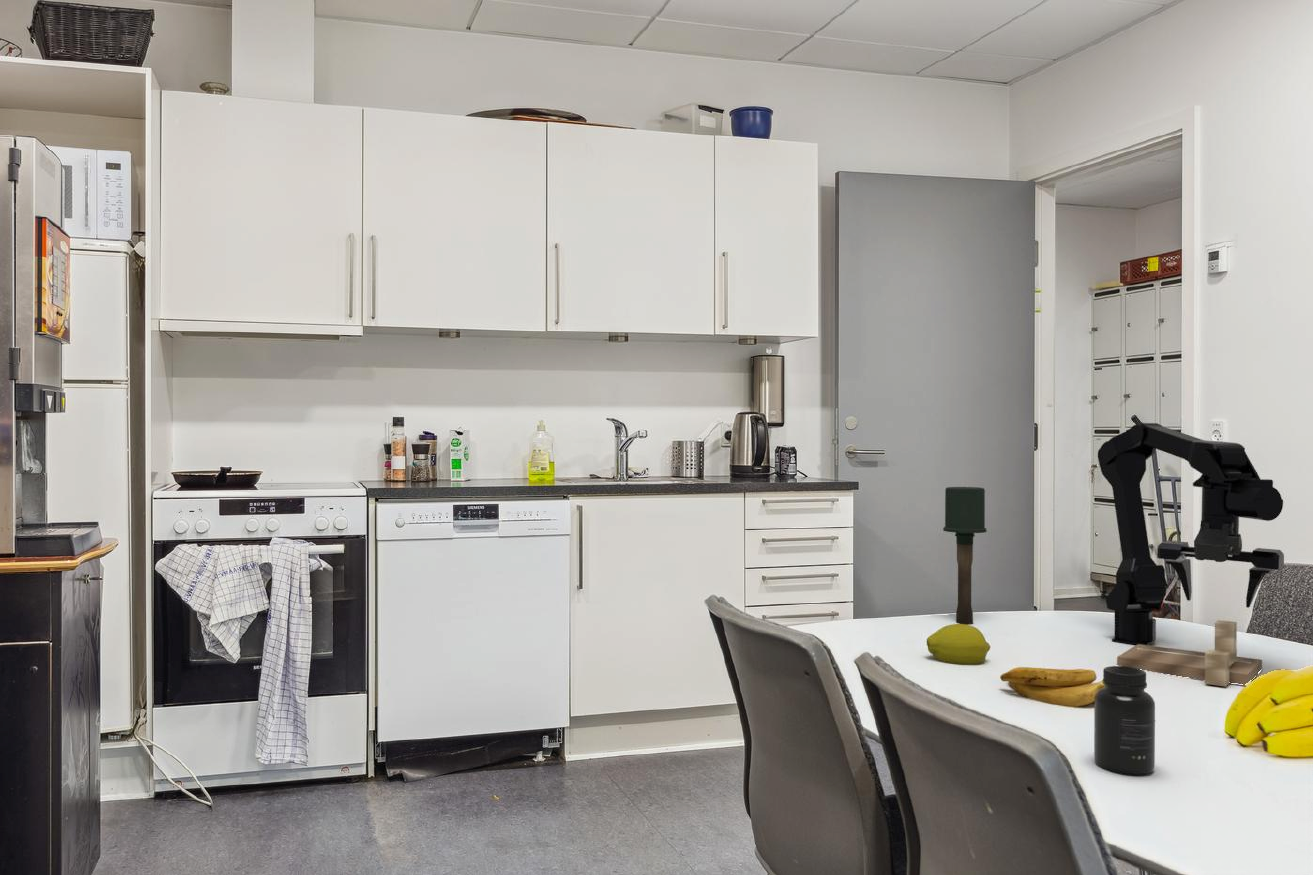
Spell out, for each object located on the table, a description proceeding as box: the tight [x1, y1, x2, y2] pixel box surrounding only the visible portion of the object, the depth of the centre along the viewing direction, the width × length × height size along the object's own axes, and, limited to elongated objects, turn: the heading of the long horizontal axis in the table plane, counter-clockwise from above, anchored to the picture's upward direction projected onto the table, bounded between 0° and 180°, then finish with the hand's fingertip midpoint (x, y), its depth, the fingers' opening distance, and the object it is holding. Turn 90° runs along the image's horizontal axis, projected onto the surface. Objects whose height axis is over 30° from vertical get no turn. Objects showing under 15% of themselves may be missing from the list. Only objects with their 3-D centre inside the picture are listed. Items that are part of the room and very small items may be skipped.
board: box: [1116, 644, 1263, 685], centre depth 175 cm, size 20×14×2 cm
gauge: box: [1204, 619, 1238, 688], centre depth 168 cm, size 3×13×9 cm, turn 141°
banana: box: [999, 666, 1105, 708], centre depth 156 cm, size 15×19×6 cm
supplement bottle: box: [1093, 665, 1156, 776], centre depth 124 cm, size 7×7×12 cm
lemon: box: [926, 623, 991, 666], centre depth 175 cm, size 11×8×8 cm
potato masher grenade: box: [942, 486, 987, 626], centre depth 207 cm, size 8×9×30 cm
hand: (1218, 603), depth 175 cm, fingers open, 9 cm apart
